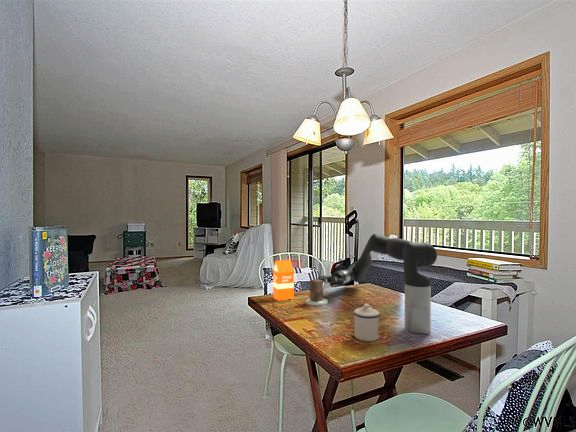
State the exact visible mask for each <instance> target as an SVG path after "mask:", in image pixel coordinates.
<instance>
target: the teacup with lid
mask: <svg viewBox="0 0 576 432" xmlns="http://www.w3.org/2000/svg"><path fill="white" fill-rule="evenodd" d="M380 316H381V314H380V311H378V310H377V309H375V308H372V307H371V306H370V304H368V303H364V304H363V306H361V307H358V308H355V309H354V311H353V317H354V320H353V321H354V322H353V323H354V326H353V327H354V328H353V329H354V331H353V332H354V333H353V334H354V335H353V336H354V337H355V338H356V339H357V340H359V341H364V342H375V341H377V340H379V338H380Z"/></svg>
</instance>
